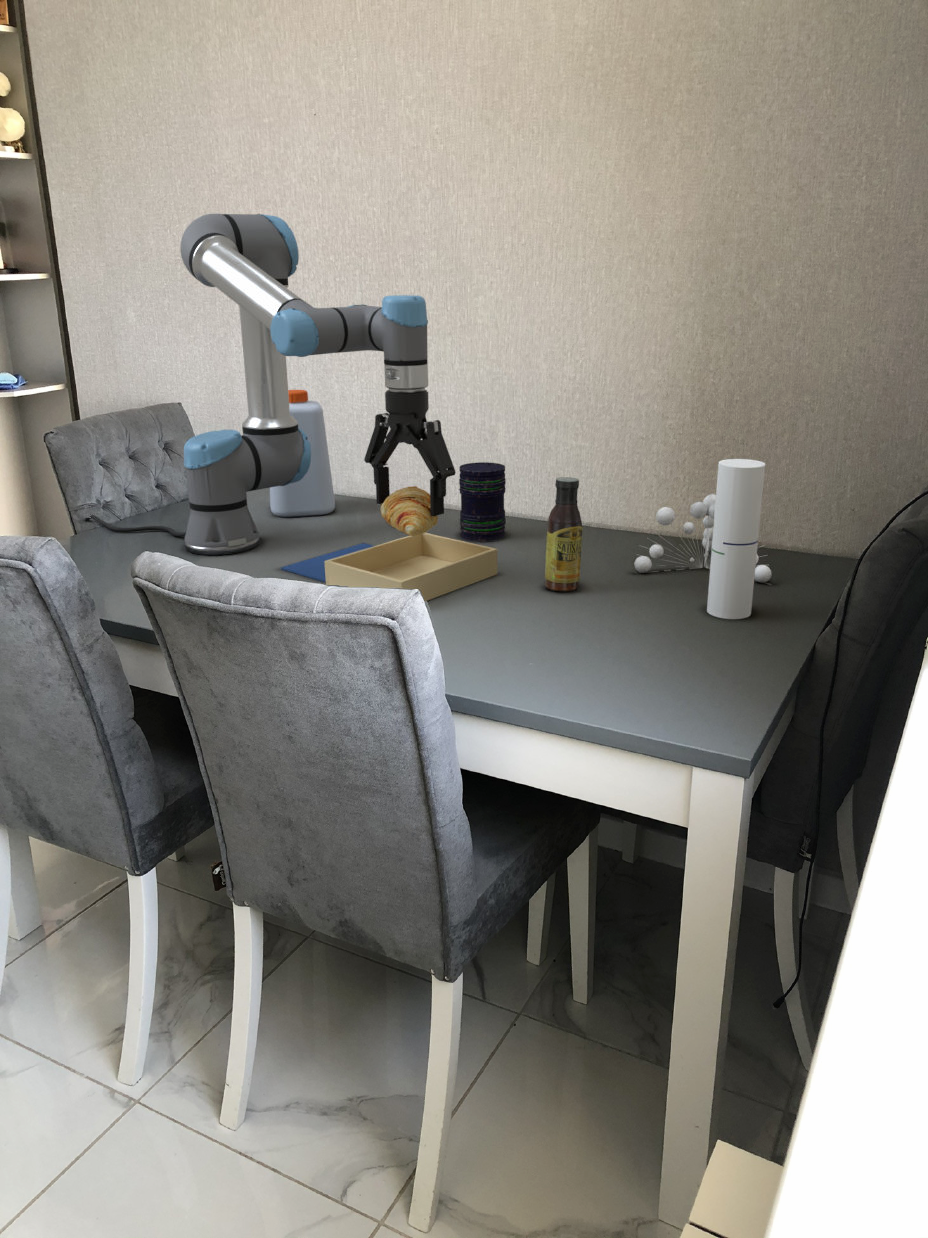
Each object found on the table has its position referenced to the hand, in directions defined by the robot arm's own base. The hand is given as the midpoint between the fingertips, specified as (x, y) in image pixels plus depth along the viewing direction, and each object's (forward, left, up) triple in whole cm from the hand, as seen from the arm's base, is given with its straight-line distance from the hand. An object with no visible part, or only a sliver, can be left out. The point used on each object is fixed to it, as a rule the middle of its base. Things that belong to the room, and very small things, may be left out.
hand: (409, 508), depth 175 cm
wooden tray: (0, 0, -14) cm, 14 cm away
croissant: (0, 0, -3) cm, 3 cm away
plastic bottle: (-59, +23, -14) cm, 65 cm away
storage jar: (-10, +32, -14) cm, 36 cm away
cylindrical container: (+53, +21, -14) cm, 59 cm away
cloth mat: (-18, 0, -14) cm, 22 cm away
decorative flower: (+36, +38, -14) cm, 54 cm away
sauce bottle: (+24, +14, -14) cm, 31 cm away
